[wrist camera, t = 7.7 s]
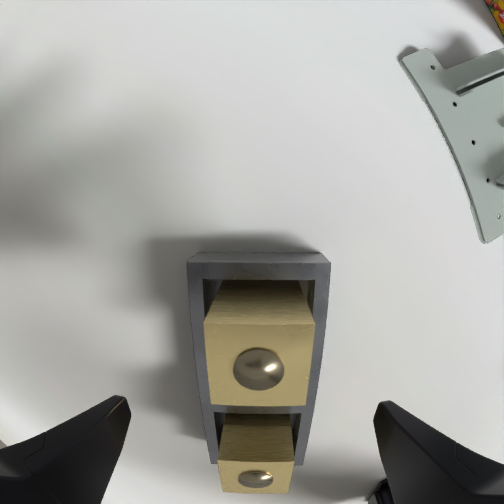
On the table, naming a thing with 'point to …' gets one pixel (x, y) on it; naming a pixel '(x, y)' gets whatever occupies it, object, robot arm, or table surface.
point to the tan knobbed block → (259, 343)
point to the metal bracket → (469, 126)
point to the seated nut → (256, 453)
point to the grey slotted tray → (257, 268)
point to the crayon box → (497, 12)
